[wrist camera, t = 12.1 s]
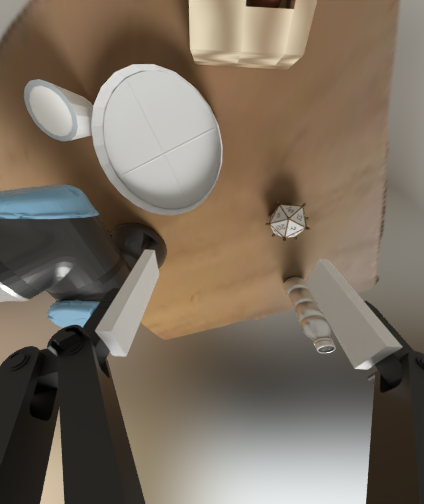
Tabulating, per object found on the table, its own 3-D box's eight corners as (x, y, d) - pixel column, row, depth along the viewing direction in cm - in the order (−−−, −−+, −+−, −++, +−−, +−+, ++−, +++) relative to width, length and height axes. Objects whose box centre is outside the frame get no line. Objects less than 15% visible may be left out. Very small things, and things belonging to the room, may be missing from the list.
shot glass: (84, 81, 27) (48, 68, 21) (111, 131, 31) (87, 132, 25) (52, 99, 28) (10, 91, 22) (82, 145, 32) (52, 148, 26)
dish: (151, 220, 41) (144, 229, 37) (79, 113, 29) (57, 111, 25) (236, 185, 36) (239, 192, 32) (191, 37, 24) (185, 18, 20)
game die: (275, 215, 43) (268, 249, 40) (265, 192, 37) (256, 232, 34) (315, 211, 38) (311, 251, 35) (312, 184, 31) (306, 230, 28)
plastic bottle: (287, 272, 50) (320, 340, 34) (308, 276, 50) (350, 344, 34) (278, 286, 54) (304, 353, 37) (297, 289, 54) (331, 357, 38)
